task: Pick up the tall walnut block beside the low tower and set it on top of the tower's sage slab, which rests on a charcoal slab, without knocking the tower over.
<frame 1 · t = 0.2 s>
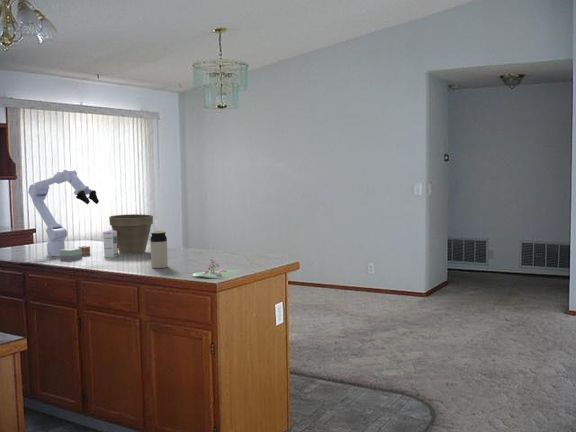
hand: (93, 202, 349), 31 cm above the counter, tool tilted 45°, fingers open, 7 cm apart
plant: (217, 275, 293), on the counter
sage slab: (71, 254, 348), point 3 cm above the counter, touching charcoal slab
plant pot: (132, 253, 369), on the counter
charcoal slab: (71, 260, 348), on the counter, touching sage slab
walnut block: (84, 255, 362), on the counter
travel mug: (159, 267, 315), on the counter
syrup box: (111, 256, 356), on the counter
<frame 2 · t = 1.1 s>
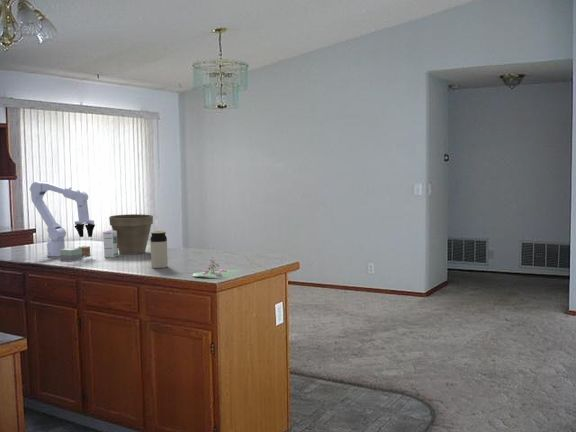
hand: (86, 236, 360), 11 cm above the counter, tool pointing down, fingers open, 7 cm apart
nothing on the counter moved.
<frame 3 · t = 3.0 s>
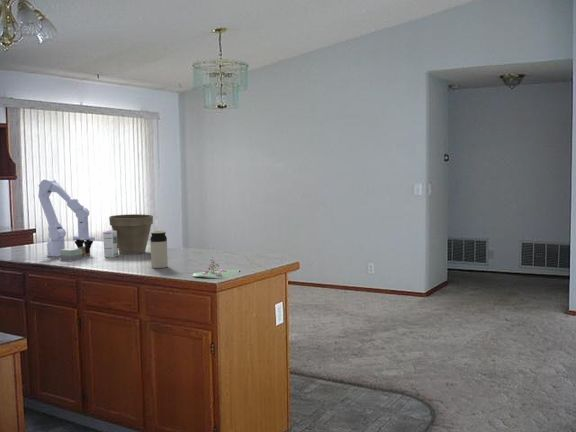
hand: (84, 252, 362), 1 cm above the counter, tool pointing down, fingers closed on walnut block, 4 cm apart
walnut block: (84, 255, 362), on the counter, touching gripper
everything else where it was.
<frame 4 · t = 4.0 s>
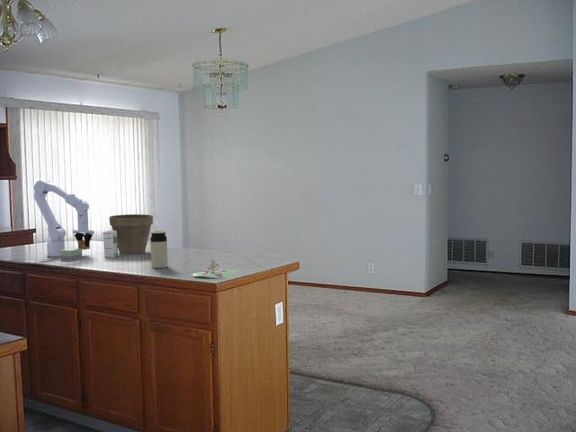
hand: (83, 246, 362), 5 cm above the counter, tool pointing down, fingers closed on walnut block, 4 cm apart
walnut block: (84, 249, 362), point 4 cm above the counter, touching gripper
everything else where it was.
when the fingers open (9 cm above the counter, at t = 6.6 s): walnut block drops 1 cm, resting on sage slab.
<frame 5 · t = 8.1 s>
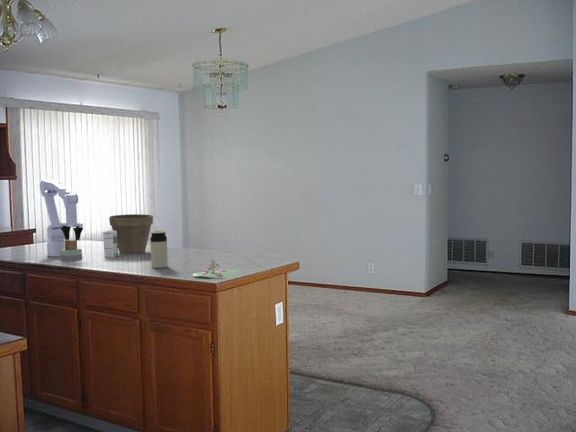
hand: (72, 240, 350), 10 cm above the counter, tool pointing down, fingers open, 7 cm apart
sage slab: (71, 254, 348), point 3 cm above the counter, touching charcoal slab, walnut block
walnut block: (71, 249, 347), point 6 cm above the counter, touching gripper, sage slab
everything else where it was.
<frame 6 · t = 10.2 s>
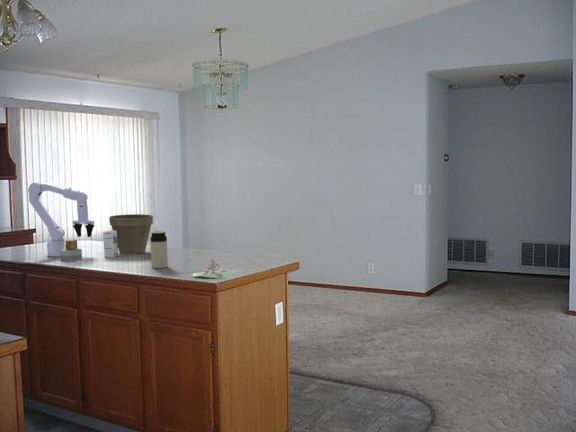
hand: (84, 236, 364), 10 cm above the counter, tool pointing down, fingers open, 7 cm apart
walnut block: (71, 249, 347), point 5 cm above the counter, touching sage slab
everything else where it was.
at the end: walnut block 0.6 cm off-centre on the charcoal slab, point 6.0 cm above the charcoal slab's base; sage slab 0.1 cm from the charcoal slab (horizontally); walnut block tilted 0° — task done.
